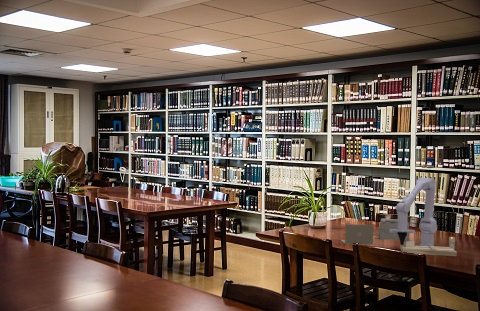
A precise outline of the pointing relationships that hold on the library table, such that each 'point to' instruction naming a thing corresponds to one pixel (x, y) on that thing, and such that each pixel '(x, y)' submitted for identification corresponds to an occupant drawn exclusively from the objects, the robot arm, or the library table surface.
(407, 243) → the finder
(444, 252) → the board
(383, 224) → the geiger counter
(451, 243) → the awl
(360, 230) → the laptop
